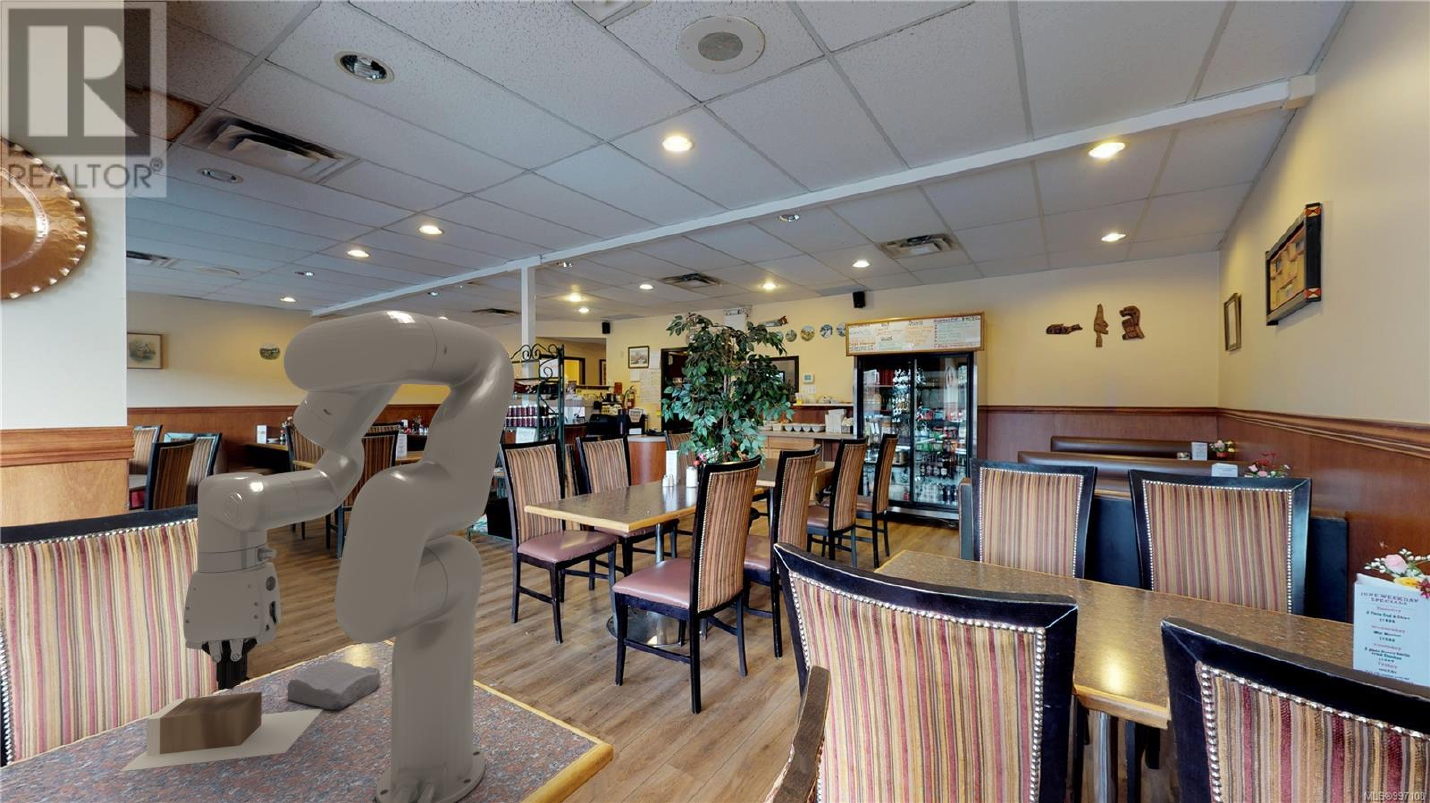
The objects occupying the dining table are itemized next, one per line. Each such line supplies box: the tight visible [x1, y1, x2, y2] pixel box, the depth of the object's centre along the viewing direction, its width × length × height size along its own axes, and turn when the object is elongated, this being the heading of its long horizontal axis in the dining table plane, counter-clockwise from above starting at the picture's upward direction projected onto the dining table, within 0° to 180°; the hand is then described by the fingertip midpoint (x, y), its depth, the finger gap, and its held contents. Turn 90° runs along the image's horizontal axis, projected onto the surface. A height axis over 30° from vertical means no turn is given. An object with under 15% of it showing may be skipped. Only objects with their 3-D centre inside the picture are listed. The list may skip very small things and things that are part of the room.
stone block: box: [286, 660, 381, 711], centre depth 90 cm, size 12×5×10 cm
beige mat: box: [118, 708, 325, 773], centre depth 78 cm, size 11×19×1 cm, turn 102°
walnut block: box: [146, 691, 263, 756], centre depth 77 cm, size 5×5×11 cm
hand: (231, 684), depth 78 cm, fingers closed
